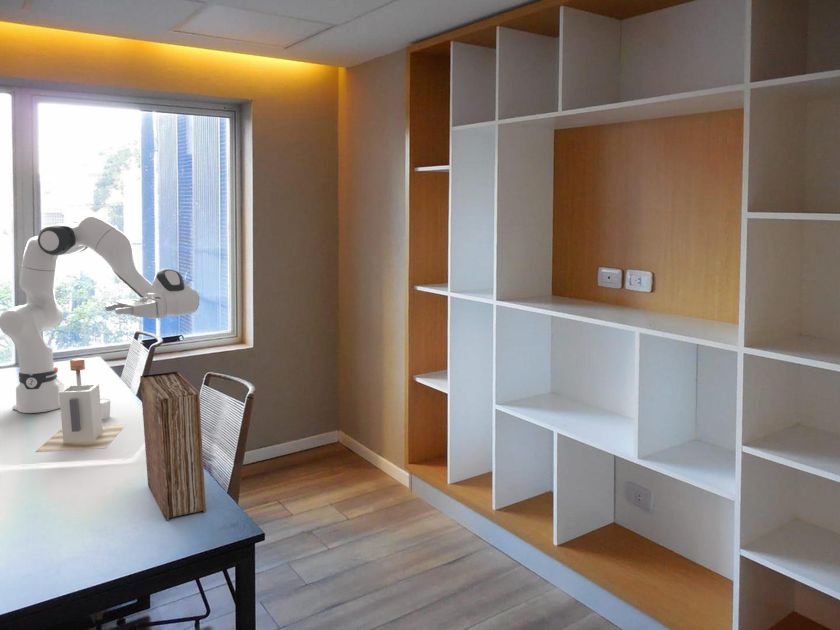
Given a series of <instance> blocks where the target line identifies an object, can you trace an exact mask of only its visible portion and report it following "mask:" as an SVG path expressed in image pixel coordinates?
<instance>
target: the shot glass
mask: <svg viewBox="0 0 840 630" xmlns="http://www.w3.org/2000/svg"><path fill="white" fill-rule="evenodd" d="M100 404H101V417H102V420H105V419H110V418H111V399H108V398H100Z"/></svg>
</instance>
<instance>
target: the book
mask: <svg viewBox="0 0 840 630" xmlns="http://www.w3.org/2000/svg"><path fill="white" fill-rule="evenodd" d="M139 378H140V392H141V406H142V419H143V432H144V433H143V434H144V446H145V447H144V448H145V463H146V475H147V476H146V477H147V485H148V488H149V490H150V492H151V494H152V496H153V497H154V500H155V502H156V504H157V506H158V507H159V510H160V511H161V514H162V516H163V517H164V519H165V521H166V522H169V520H170V519H171V518H176V517H179V516H183V515H189V514H194V513H198V512H199V513H200V512H202V513H206V512H207V508H206V507H207V506H206V505H207V504H206V487H205V469H204V450H203V435H202V416H201V413H202V412H201V399H200V398H201V397H200V391H199V390H198V389H197V388H196V387H195V386H193V384H192V383H190V382H189V381H188V380H187V379H186V378H185V377H184V376H182V374H181V373H179V372H178V371H171V372H163V373H154V374H146V375H140V377H139Z"/></svg>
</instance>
